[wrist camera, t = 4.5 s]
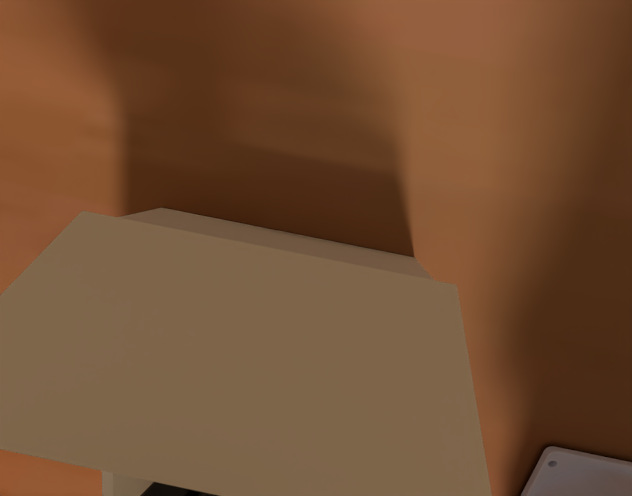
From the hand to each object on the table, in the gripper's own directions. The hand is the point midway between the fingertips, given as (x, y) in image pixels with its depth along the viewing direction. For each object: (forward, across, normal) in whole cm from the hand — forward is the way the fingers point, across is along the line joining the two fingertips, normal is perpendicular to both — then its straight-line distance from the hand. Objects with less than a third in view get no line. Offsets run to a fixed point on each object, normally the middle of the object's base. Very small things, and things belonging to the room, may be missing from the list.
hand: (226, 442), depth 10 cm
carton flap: (0, 0, -4) cm, 4 cm away
